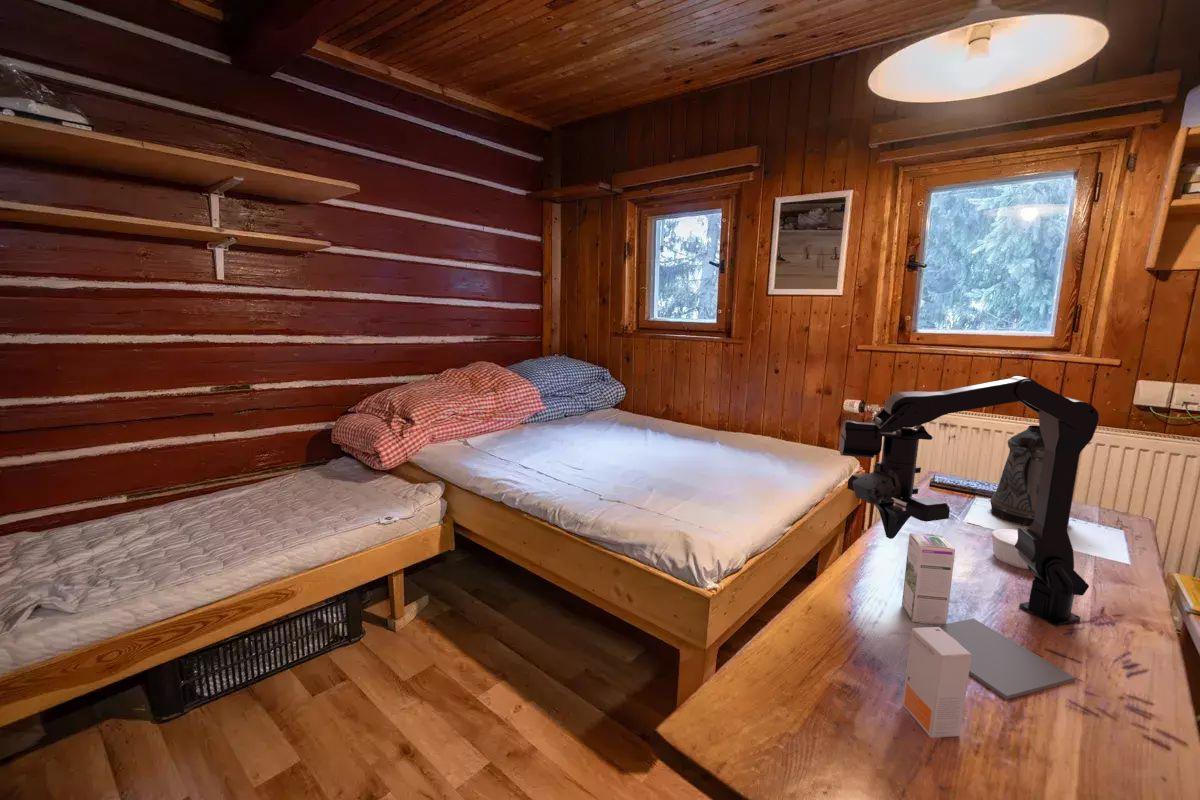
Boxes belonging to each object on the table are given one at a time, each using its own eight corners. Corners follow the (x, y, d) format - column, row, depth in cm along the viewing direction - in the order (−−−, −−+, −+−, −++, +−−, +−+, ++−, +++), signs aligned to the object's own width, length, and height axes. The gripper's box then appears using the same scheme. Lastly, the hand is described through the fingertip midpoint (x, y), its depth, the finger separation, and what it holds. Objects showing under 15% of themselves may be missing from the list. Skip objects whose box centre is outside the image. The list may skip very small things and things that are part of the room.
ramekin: (1063, 566, 116) (1067, 544, 115) (1035, 577, 111) (1039, 553, 110) (1006, 546, 126) (1009, 525, 125) (978, 555, 121) (981, 533, 120)
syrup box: (947, 626, 93) (958, 548, 91) (910, 622, 94) (920, 545, 92) (934, 608, 99) (944, 534, 96) (899, 604, 100) (908, 531, 98)
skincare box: (900, 705, 74) (910, 626, 72) (929, 703, 75) (939, 625, 73) (930, 739, 69) (941, 655, 66) (961, 737, 69) (974, 654, 67)
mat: (972, 621, 95) (973, 618, 95) (1074, 680, 80) (1075, 677, 80) (911, 634, 91) (911, 631, 91) (1006, 699, 76) (1006, 695, 76)
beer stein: (1060, 514, 146) (1075, 425, 142) (1075, 539, 130) (1093, 439, 126) (986, 502, 155) (999, 417, 151) (992, 524, 139) (1006, 430, 135)
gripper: (828, 450, 107) (822, 523, 110) (906, 478, 89) (896, 565, 92) (873, 446, 110) (866, 518, 113) (957, 473, 93) (946, 557, 95)
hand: (890, 537), depth 103 cm, fingers closed
